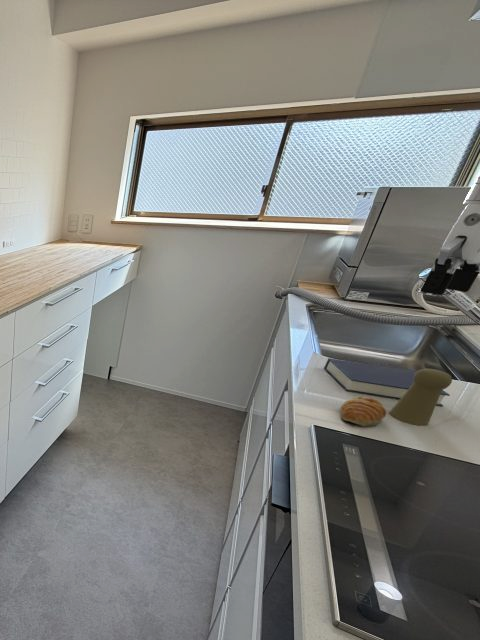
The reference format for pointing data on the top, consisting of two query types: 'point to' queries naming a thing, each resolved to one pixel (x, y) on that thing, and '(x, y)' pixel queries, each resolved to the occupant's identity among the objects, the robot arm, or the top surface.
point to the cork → (421, 397)
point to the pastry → (363, 411)
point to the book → (373, 378)
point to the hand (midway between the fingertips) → (443, 291)
